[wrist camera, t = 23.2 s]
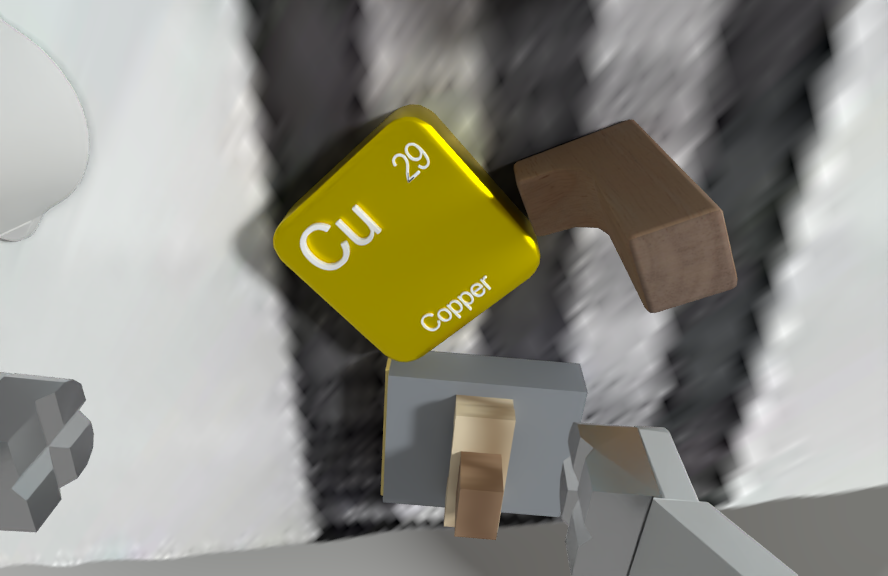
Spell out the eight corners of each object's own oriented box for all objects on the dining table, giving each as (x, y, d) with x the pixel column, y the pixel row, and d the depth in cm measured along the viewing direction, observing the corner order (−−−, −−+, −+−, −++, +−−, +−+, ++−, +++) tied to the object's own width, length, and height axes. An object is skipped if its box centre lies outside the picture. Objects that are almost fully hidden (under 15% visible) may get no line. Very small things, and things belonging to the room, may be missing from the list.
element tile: (406, 344, 54) (401, 376, 50) (275, 220, 50) (257, 245, 45) (546, 238, 49) (553, 265, 45) (415, 90, 45) (410, 104, 40)
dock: (384, 469, 61) (379, 501, 57) (390, 347, 54) (384, 375, 51) (554, 484, 61) (559, 517, 57) (579, 363, 54) (587, 392, 51)
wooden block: (531, 216, 48) (561, 345, 32) (511, 162, 46) (532, 271, 30) (648, 174, 46) (742, 289, 30) (633, 116, 44) (724, 206, 28)
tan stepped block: (445, 499, 57) (444, 526, 54) (456, 391, 51) (455, 415, 48) (496, 503, 57) (497, 530, 54) (513, 396, 51) (515, 420, 48)
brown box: (455, 496, 52) (454, 536, 49) (461, 451, 50) (460, 488, 47) (494, 500, 52) (495, 539, 49) (501, 454, 50) (503, 492, 47)
